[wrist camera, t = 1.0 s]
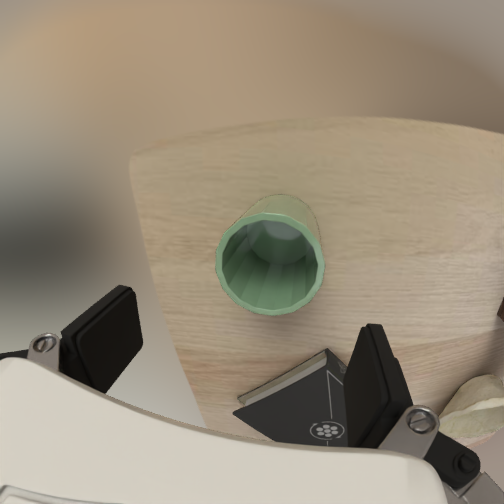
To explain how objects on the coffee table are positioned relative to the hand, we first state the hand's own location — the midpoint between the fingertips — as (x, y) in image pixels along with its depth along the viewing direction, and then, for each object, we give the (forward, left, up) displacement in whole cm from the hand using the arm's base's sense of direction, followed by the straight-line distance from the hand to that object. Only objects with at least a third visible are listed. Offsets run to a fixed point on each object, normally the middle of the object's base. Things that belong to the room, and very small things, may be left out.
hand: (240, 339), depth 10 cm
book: (+24, +10, -16) cm, 31 cm away
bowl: (+19, +31, -16) cm, 40 cm away
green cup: (0, 0, -15) cm, 15 cm away
